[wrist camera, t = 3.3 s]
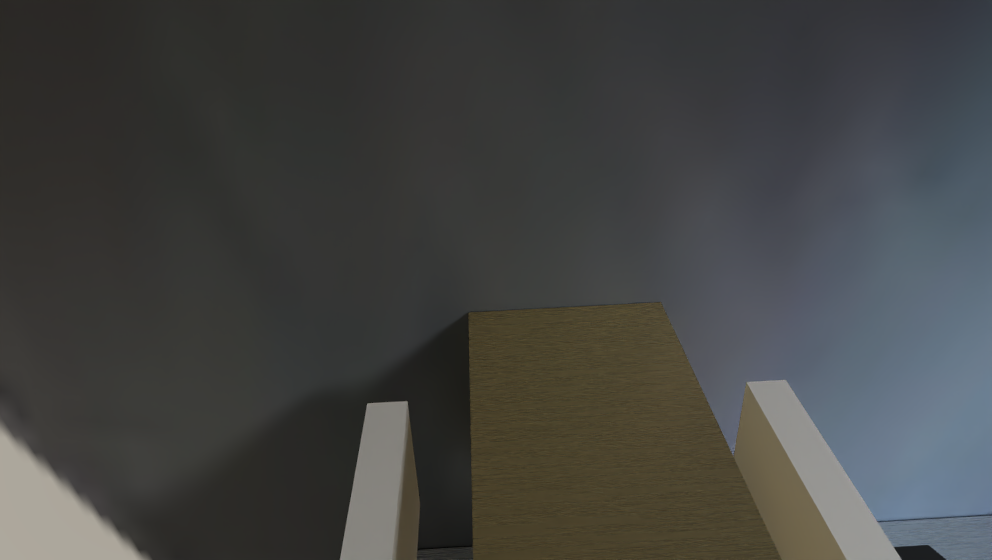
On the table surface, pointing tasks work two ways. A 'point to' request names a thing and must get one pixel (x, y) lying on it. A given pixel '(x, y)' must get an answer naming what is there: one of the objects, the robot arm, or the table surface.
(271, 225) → the table surface
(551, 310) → the brass peg
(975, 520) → the white holed flat block
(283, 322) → the table surface
